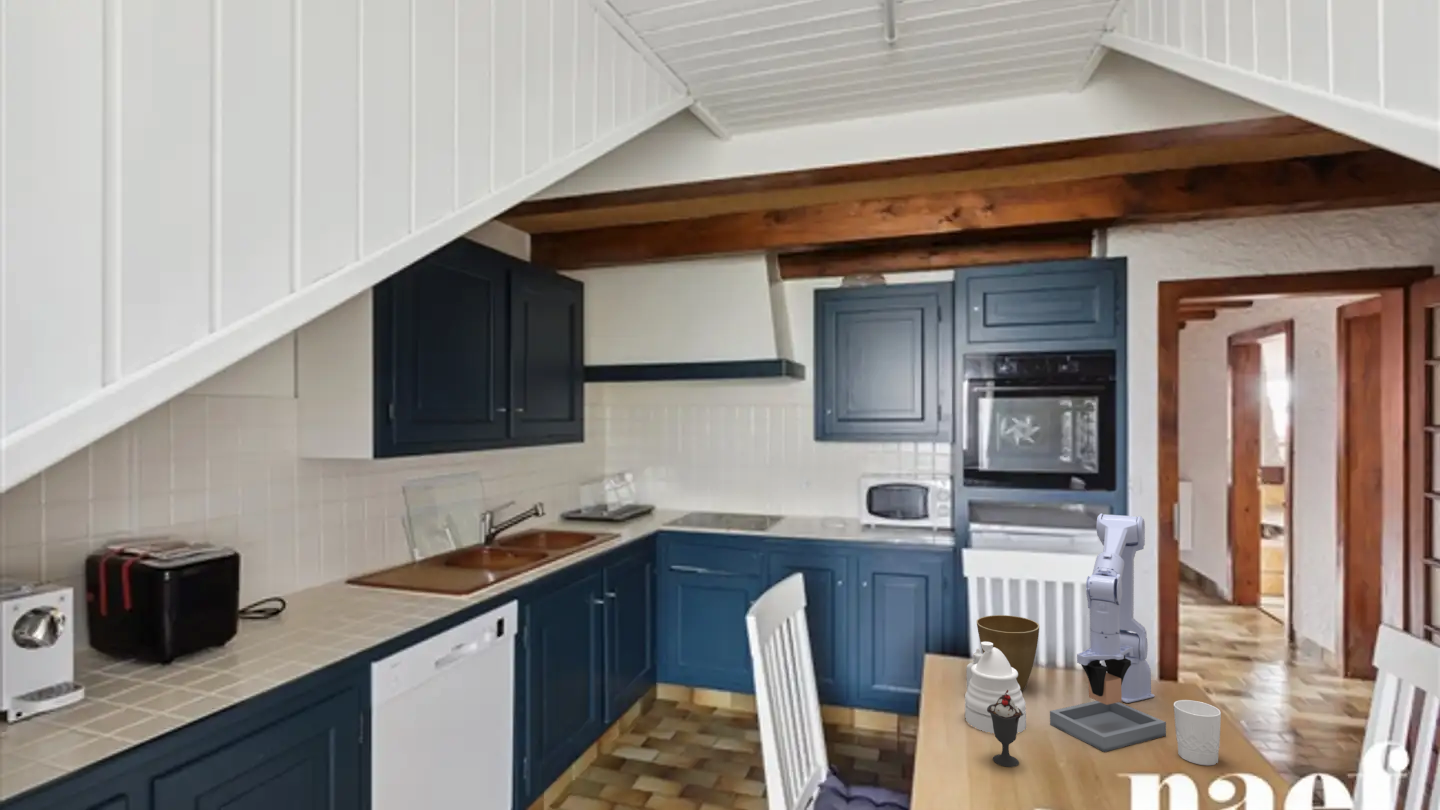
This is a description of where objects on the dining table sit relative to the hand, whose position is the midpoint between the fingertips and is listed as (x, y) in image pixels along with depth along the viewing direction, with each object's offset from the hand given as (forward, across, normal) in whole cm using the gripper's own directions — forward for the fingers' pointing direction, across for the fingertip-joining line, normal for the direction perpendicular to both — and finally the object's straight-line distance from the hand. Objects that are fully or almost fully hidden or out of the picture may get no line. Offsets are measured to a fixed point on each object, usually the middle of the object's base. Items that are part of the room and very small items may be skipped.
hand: (1106, 692), depth 156 cm
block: (+2, 0, 0) cm, 2 cm away
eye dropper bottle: (+8, -13, +25) cm, 29 cm away
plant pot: (+8, -1, +28) cm, 29 cm away
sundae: (+8, -30, -2) cm, 31 cm away
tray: (+8, 0, 0) cm, 8 cm away
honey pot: (+8, -19, +13) cm, 25 cm away
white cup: (+8, +6, -16) cm, 19 cm away
